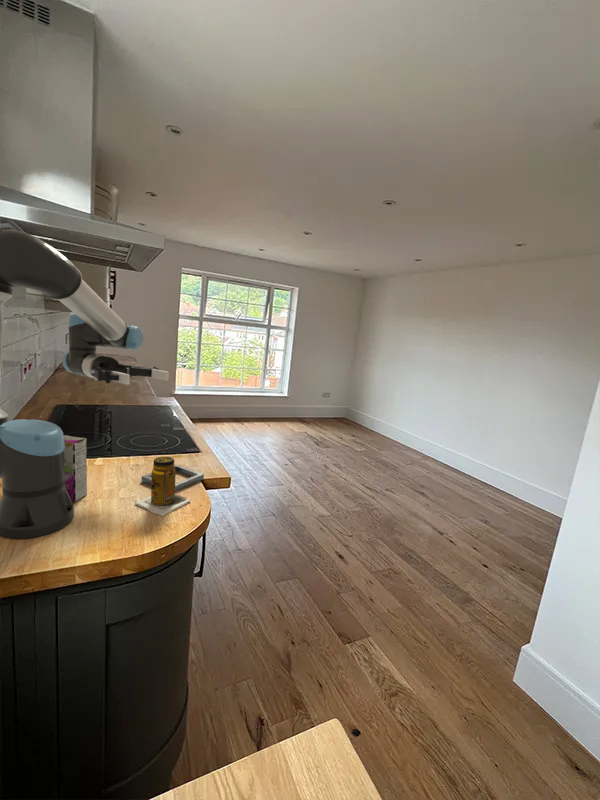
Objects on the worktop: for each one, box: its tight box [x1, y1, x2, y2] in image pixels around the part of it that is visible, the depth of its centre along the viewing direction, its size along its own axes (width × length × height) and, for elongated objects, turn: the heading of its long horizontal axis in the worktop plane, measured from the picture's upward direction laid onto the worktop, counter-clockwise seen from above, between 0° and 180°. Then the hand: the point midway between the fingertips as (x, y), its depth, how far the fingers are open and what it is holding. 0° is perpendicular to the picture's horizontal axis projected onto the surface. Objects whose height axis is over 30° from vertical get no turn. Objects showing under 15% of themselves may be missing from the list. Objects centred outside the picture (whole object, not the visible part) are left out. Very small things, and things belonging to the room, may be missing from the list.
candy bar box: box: [63, 434, 88, 503], centre depth 98 cm, size 11×5×16 cm, turn 84°
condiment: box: [145, 456, 187, 509], centre depth 100 cm, size 7×8×12 cm
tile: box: [134, 495, 192, 517], centre depth 101 cm, size 10×10×1 cm
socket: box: [141, 463, 205, 492], centre depth 115 cm, size 13×12×2 cm
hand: (149, 377), depth 106 cm, fingers open, 13 cm apart
